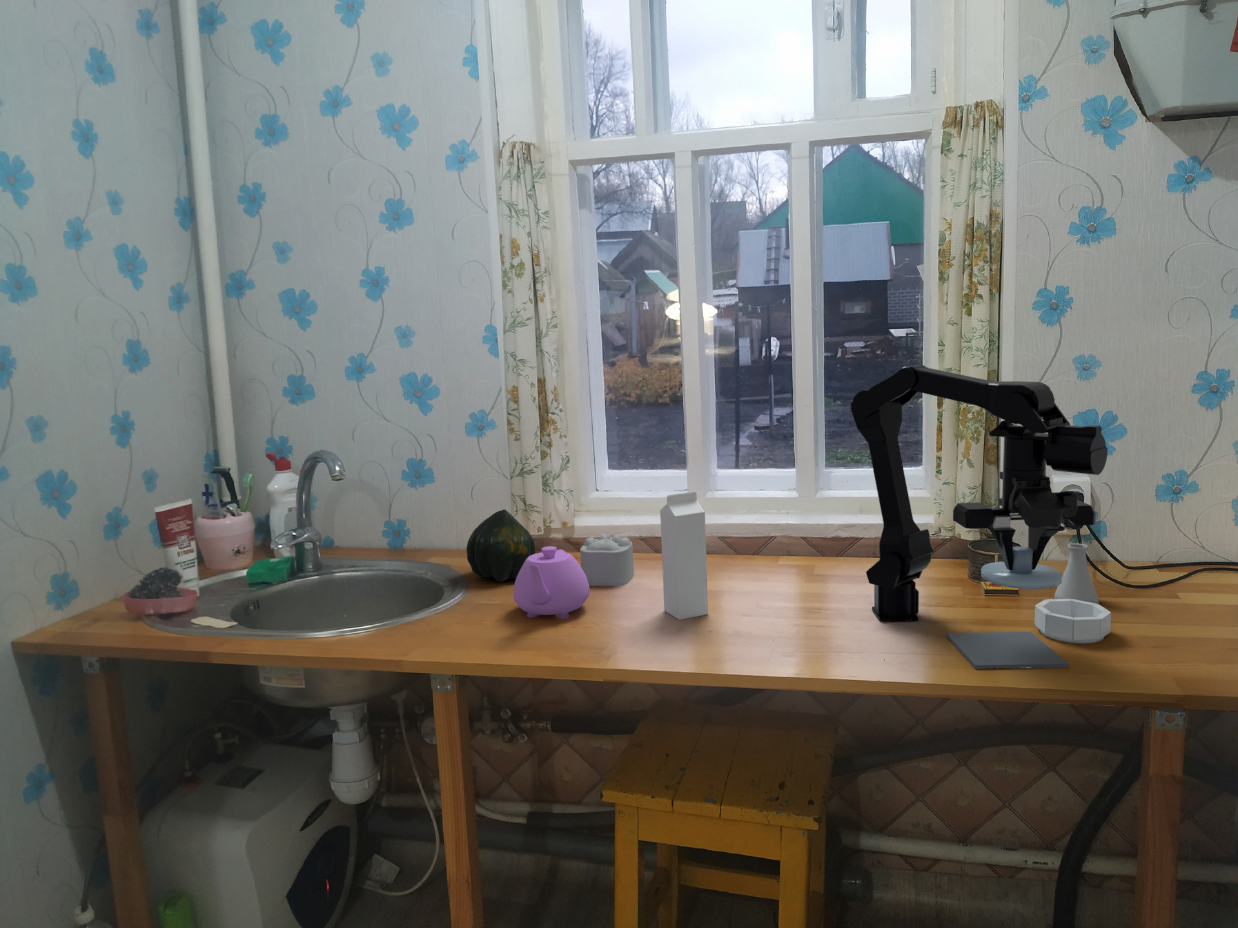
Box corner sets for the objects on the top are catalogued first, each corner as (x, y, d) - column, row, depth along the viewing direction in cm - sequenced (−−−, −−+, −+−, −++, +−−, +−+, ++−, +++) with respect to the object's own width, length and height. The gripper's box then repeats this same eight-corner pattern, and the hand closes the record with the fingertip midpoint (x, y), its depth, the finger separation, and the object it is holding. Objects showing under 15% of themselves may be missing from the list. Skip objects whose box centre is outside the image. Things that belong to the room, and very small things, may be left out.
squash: (468, 567, 167) (509, 505, 171) (445, 555, 180) (483, 498, 184) (520, 602, 173) (559, 542, 177) (494, 588, 186) (531, 532, 190)
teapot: (573, 632, 143) (569, 564, 141) (495, 629, 146) (491, 563, 144) (601, 596, 162) (598, 535, 160) (532, 594, 165) (528, 535, 163)
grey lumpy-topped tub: (577, 585, 170) (575, 544, 169) (593, 568, 182) (590, 529, 181) (626, 586, 168) (624, 545, 166) (639, 568, 180) (637, 529, 179)
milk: (708, 614, 149) (705, 494, 145) (678, 620, 146) (674, 498, 143) (692, 605, 154) (688, 488, 151) (663, 610, 152) (659, 492, 148)
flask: (1105, 607, 142) (1108, 550, 141) (1060, 606, 144) (1061, 550, 142) (1091, 594, 149) (1093, 540, 148) (1047, 593, 151) (1049, 540, 149)
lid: (998, 590, 120) (999, 560, 119) (970, 568, 131) (970, 540, 130) (1076, 588, 120) (1077, 557, 119) (1041, 566, 130) (1042, 538, 130)
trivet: (975, 669, 120) (975, 665, 120) (946, 636, 133) (946, 633, 132) (1068, 667, 119) (1068, 663, 119) (1030, 634, 132) (1030, 631, 131)
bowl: (1053, 644, 127) (1054, 620, 127) (1026, 623, 137) (1027, 599, 136) (1119, 643, 126) (1120, 618, 126) (1088, 621, 136) (1089, 598, 135)
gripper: (981, 479, 115) (978, 587, 118) (1119, 475, 114) (1113, 583, 117) (952, 466, 126) (950, 565, 129) (1078, 462, 125) (1073, 562, 128)
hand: (1020, 569), depth 125 cm, fingers closed on lid, 3 cm apart
